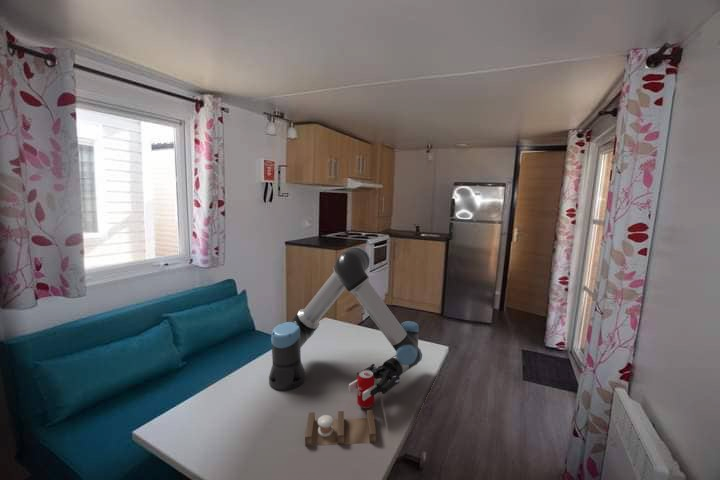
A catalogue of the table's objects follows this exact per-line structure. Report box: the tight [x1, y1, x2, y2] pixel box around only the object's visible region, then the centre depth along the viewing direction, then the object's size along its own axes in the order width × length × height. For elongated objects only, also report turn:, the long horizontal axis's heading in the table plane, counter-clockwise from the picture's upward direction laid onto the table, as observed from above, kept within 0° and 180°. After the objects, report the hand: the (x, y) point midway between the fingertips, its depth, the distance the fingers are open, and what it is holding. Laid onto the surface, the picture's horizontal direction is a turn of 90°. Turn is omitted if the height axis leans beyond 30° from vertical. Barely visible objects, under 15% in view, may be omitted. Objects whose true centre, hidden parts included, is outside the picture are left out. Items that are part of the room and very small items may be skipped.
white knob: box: [317, 414, 334, 437], centre depth 101 cm, size 5×5×4 cm
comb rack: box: [304, 409, 377, 447], centre depth 102 cm, size 22×11×4 cm, turn 93°
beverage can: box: [356, 369, 375, 409], centre depth 113 cm, size 6×6×12 cm
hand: (356, 392), depth 110 cm, fingers closed on beverage can, 6 cm apart
